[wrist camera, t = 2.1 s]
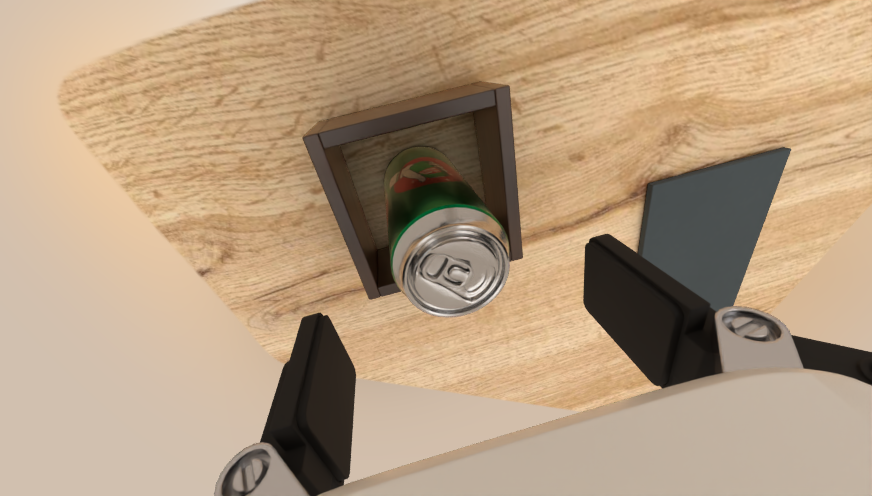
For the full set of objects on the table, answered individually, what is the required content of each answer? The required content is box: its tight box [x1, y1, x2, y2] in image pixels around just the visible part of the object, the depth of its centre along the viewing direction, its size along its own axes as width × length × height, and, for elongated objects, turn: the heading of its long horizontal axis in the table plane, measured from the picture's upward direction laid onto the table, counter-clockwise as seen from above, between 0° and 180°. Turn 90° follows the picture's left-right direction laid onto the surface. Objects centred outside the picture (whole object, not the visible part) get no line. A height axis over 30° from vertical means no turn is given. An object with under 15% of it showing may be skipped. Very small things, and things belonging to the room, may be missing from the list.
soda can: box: [384, 146, 510, 317], centre depth 18 cm, size 5×5×12 cm
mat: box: [638, 147, 791, 311], centre depth 31 cm, size 18×12×1 cm, turn 12°
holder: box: [303, 81, 523, 300], centre depth 21 cm, size 11×11×5 cm
